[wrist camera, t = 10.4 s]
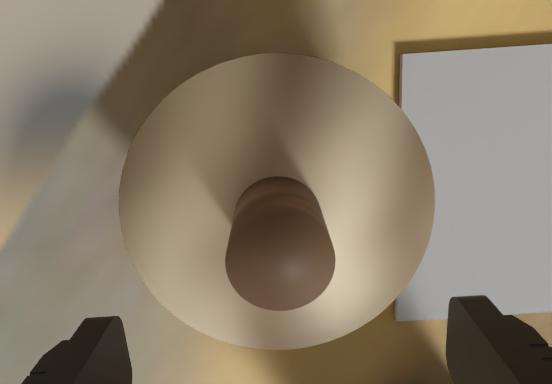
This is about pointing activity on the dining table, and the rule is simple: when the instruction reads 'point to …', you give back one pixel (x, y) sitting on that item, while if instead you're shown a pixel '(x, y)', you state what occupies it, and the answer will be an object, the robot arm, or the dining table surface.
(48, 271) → the dining table surface
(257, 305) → the lid
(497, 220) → the mat
